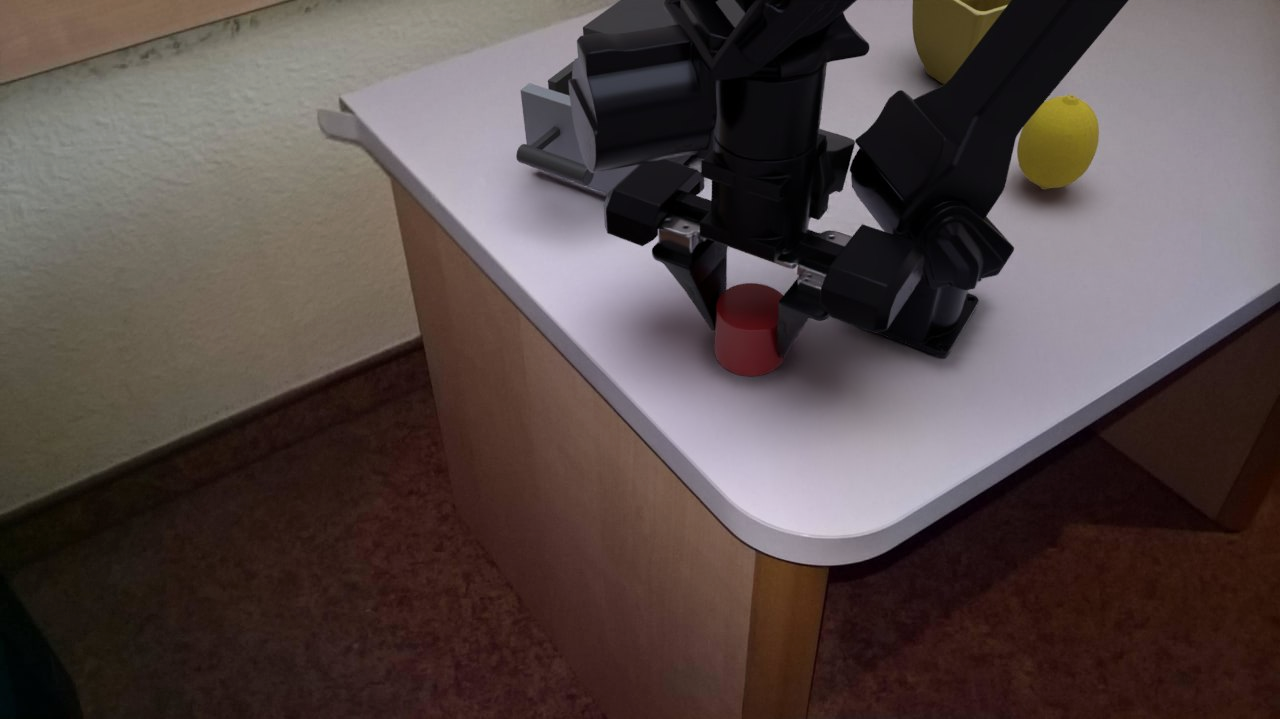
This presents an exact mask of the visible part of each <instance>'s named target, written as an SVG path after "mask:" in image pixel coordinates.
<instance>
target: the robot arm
mask: <svg viewBox="0 0 1280 719" xmlns="http://www.w3.org/2000/svg"><path fill="white" fill-rule="evenodd" d="M717 1H718V0H665V1H664V5H663V6H664V9H665V11H666V12H667V14H668V15H669V16H670V18H671V19H672V26H665V27H659V28H653V29H646V30H640V31H633V32H627V33H619V34H613V33H596V34H590V35H583V34H582V35H580V36H579V37H578V38H577V39H576V47H577V48H576V49H577V57H576V58H574V60H573V61H574V62H573V61H572V62H573V69H572V79H571V80H569V95H570V104H571V110H572V117H573V122H574V127H575V132H576V136H577V141H578V144H579V148H580V151H581V154H582V157H583V160H584V163H585V165H586V167H587V169H588V170H589V172H591V173H595V172H600V171H606V170H611V169H617V168H622V167H628V166H633V165H638V166H637V167H636V168H634V169H633V170H632V171H631V172H630V173H629V174H628V175H627V176H626V177H625V178H623V179H622V180H621V181H620V182H619V183H618V184H617V185H616V186H615V187H614V188H613V189H611V190H610V191H609V192H608V194H607V195H606V198H605V200H604V203H603V218H604V229H605V230H606V234H608V235H611V236H613V237H617V238H619V239H621V240H624V241H626V242H630V243H632V244H635V245H638V246H641V247H644V246H646V245H647V244H650V243H651V242H653V241H654V240H655V239H656V238H657V237H658V241H657V242H656V243H655V245H654V246H652V248H651V257H652V258H653V259H654V260H655V261H657V262H660V263H661V264H663V265H664V266H665V267H666V269H667V270H668V272H669V273H670V274H671V275H672V276H673V278H674V279H675V280H676V282H677V283H678V284H679V285H680V287H681V288H682V289H683V290H684V292H685V293H686V295H687V296H688V298H689V299H690V300H691V301H692V304H693V305H694V306H695V308H696V309H697V311H698V312H699V314H700V316H701V317H702V318H703V320H704V322H705V323H706V325H707V326H708V328H709V329H710V331H712V332H715V324H716V304H717V300H718V298H719V297H720V295H721V294H722V293H723V292H724V291H726V290H727V289H728V287H727V286H728V285H727V284H728V281H727V277H728V275H727V272H728V271H727V270H728V269H727V268H728V266H727V265H728V258H727V257H728V249H729V248H731V249H734V250H736V251H740V252H741V253H745V254H748V255H750V256H753V257H756V258H758V259H759V258H760V259H762V260H765V261H768V262H770V263H773V264H776V265H778V266H781V267H784V268H786V269H790V270H793V269H795V268H797V270H796V276H797V278H796V279H795V280H794V281H793V283H792V284H791V285H790V286H789V288H788V289H787V290H786V292H785V293H783V294H782V295H783V297H782V298H781V299H780V300H779V303H778V320H777V336H776V349H777V354H778V357H780V358H782V359H783V358H784V359H785V358H786V356H787V355H788V353H789V352H790V351H791V350H792V349H793V346H794V344H795V343H796V341H797V339H798V338H799V336H800V335H801V332H802V331H803V329H804V327H805V326H806V324H807V322H808V321H809V320H813V321H816V322H824V321H827V320H828V319H829V318H833V319H835V320H837V321H841V322H844V323H846V324H849V325H851V326H854V327H857V328H860V329H863V330H864V331H868V332H870V333H873V334H874V333H876V334H878V335H881V336H884V337H886V338H889V339H892V340H894V341H896V342H900V343H902V344H904V345H908V346H909V347H913V348H915V349H918V350H921V351H923V352H926V353H928V354H932V355H934V356H937V357H940V358H945V357H947V356H948V355H949V354H950V353H951V351H952V349H953V347H954V346H955V344H956V343H957V341H958V339H959V338H960V336H961V334H962V332H963V331H964V329H965V328H966V325H967V324H968V322H969V321H970V319H971V317H972V315H973V314H974V312H975V311H976V309H977V307H978V304H979V297H978V296H976V295H974V294H972V293H969V292H968V291H970V290H975V289H976V287H977V286H978V283H979V282H981V281H982V279H987V278H991V277H996V276H998V275H999V274H1000V273H1001V271H1002V270H1003V268H1004V266H1005V265H1006V263H1007V262H1008V260H1009V259H1010V258H1011V256H1012V255H1013V253H1014V251H1015V247H1014V246H1013V244H1012V243H1011V242H1010V241H1009V240H1008V238H1006V236H1005V235H1004V234H1003V232H1001V231H1000V229H998V228H997V227H996V225H995V224H994V222H992V221H991V220H990V218H988V217H987V216H988V215H989V214H990V212H991V210H992V209H993V208H994V206H995V204H996V203H997V201H998V200H999V198H1000V197H1001V196H1002V194H1003V192H1004V191H1005V187H1006V184H1007V183H1006V182H1007V179H1008V174H1009V169H1010V165H1011V161H1012V156H1013V153H1014V148H1015V144H1016V139H1017V137H1018V135H1019V133H1021V131H1022V128H1023V126H1024V125H1025V124H1026V123H1027V122H1028V120H1029V119H1030V118H1031V117H1032V116H1033V114H1034V113H1035V112H1036V111H1037V110H1038V108H1039V107H1040V106H1041V105H1042V104H1043V102H1045V101H1047V100H1048V99H1049V97H1050V95H1051V94H1052V93H1053V92H1054V91H1055V89H1056V88H1057V87H1058V86H1059V85H1060V84H1061V83H1062V81H1063V80H1064V79H1065V77H1067V75H1068V74H1069V72H1071V70H1072V69H1073V68H1074V67H1075V66H1076V64H1077V63H1078V62H1079V61H1080V59H1081V58H1082V57H1083V56H1084V54H1086V52H1087V51H1088V50H1089V49H1090V48H1091V46H1092V45H1093V44H1094V43H1095V41H1097V39H1098V38H1099V36H1100V35H1101V34H1103V32H1104V31H1105V29H1106V28H1107V27H1108V26H1109V25H1110V24H1111V22H1112V21H1113V20H1114V19H1115V17H1116V16H1117V15H1118V14H1119V13H1120V11H1122V9H1123V8H1124V7H1125V6H1126V4H1127V3H1128V2H1129V0H1011V1H1010V3H1009V4H1008V5H1007V7H1006V8H1005V9H1004V10H1003V12H1002V13H1001V14H1000V16H999V17H998V18H997V19H996V21H995V22H994V23H993V25H992V26H991V27H990V29H989V30H988V31H987V32H986V34H985V35H984V36H983V38H982V39H981V40H980V42H979V43H978V44H977V45H976V47H975V48H974V49H973V51H972V52H971V53H970V54H969V56H968V57H967V58H966V60H965V61H964V62H963V64H962V65H961V66H960V67H959V69H958V70H957V71H956V73H955V74H954V75H953V76H952V78H951V79H950V80H949V81H948V82H947V83H946V84H942V85H940V86H938V87H936V88H933V89H932V90H930V91H927V92H926V93H924V94H921V95H919V96H917V97H915V98H912V97H911V96H910V95H909V94H908V93H907V92H905V91H904V90H902V89H899V90H897V91H896V92H894V94H892V95H891V96H890V97H889V98H888V99H887V101H886V102H885V104H884V106H883V108H882V110H881V111H880V113H879V115H878V117H877V118H876V119H875V121H874V122H873V123H872V124H871V125H870V126H869V128H868V129H867V130H865V131H864V132H863V133H862V134H860V135H859V136H858V137H857V138H856V139H853V138H851V137H848V136H846V135H842V134H838V133H835V132H831V131H829V130H825V129H822V128H820V126H821V118H822V109H823V102H824V101H823V100H824V92H825V84H826V74H827V67H828V63H831V62H836V61H842V60H849V59H853V58H860V57H864V56H866V55H867V54H868V53H869V51H870V43H869V42H868V41H867V40H866V39H865V38H864V37H863V36H862V35H861V33H860V32H858V31H857V30H856V29H855V27H854V26H853V25H852V24H851V23H850V22H849V21H848V20H847V18H846V16H845V13H844V12H846V11H847V10H848V9H849V8H850V7H851V6H852V5H853V4H856V2H857V1H858V0H735V1H736V2H737V4H738V5H739V6H740V7H741V9H742V10H743V11H744V12H745V15H744V16H743V17H742V19H741V20H740V22H739V23H738V24H737V26H736V27H734V26H733V24H732V23H731V22H730V20H729V19H728V18H727V16H726V15H725V14H724V13H723V11H722V10H721V9H720V7H719V6H718V5H717V3H716V2H717ZM1047 98H1048V99H1047ZM713 129H714V133H713V150H712V151H711V152H710V153H709V154H708V155H707V156H706V157H705V158H702V160H701V161H700V170H699V169H697V168H694V167H690V166H687V165H684V164H679V163H676V162H673V161H670V160H667V159H672V158H677V157H683V156H688V155H692V156H695V155H694V154H696V153H697V152H698V151H702V150H707V149H708V147H709V144H710V140H711V134H712V131H713ZM855 145H857V147H858V150H857V151H856V153H855V155H854V157H853V152H854V149H855ZM852 157H853V159H852ZM848 171H849V172H850V179H851V180H850V181H851V188H852V189H853V191H854V193H855V195H856V196H857V198H858V199H859V200H860V202H861V203H862V204H863V206H864V207H865V208H866V210H867V211H868V213H869V214H870V215H871V216H872V218H873V219H874V220H875V221H876V223H877V224H878V225H879V227H880V228H881V230H880V229H878V228H875V227H871V226H869V225H866V224H864V223H862V224H861V225H860V226H859V227H858V228H857V230H856V231H855V233H853V235H852V236H851V235H849V234H846V233H843V232H840V231H837V230H831V229H830V230H825V231H823V232H817V231H814V230H811V229H809V226H810V225H809V224H810V220H811V219H812V220H813V219H814V220H816V221H820V219H821V218H822V217H823V216H824V215H825V214H826V212H827V211H828V209H829V200H830V195H832V194H834V193H836V192H837V193H840V192H842V191H843V190H844V187H845V183H846V179H847V175H848ZM705 179H708V180H710V181H711V199H707V198H704V197H702V196H699V194H700V193H702V191H703V190H704V189H705ZM784 359H783V360H784Z"/></svg>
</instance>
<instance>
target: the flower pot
mask: <svg viewBox="0 0 1280 719" xmlns="http://www.w3.org/2000/svg"><path fill="white" fill-rule="evenodd" d="M1010 1H1011V0H912V13H911V14H912V19H911V21H912V35H913V41H914V45H915V49H916V52H917V55H918V57H919V60H920V61H921V64H922V66H923V68H924V70H925V72H926V74H927V75H928V76H930V77H932V78H933V79H934V80H936V81H937V82H940V83H941V84H942V85H944V84H946V83H947V82H948V81H949V80H950V79H951V78H952V76H953V75H954V74H955V73H956V71H957V70H958V69H959V67H960V66H961V65H962V64H963V62H964V61H965V60H966V58H967V57H968V56H969V54H970V53H971V52H972V51H973V49H974V48H975V47H976V45H977V44H978V43H979V42H980V40H981V39H982V38H983V36H984V35H985V34H986V32H987V31H988V30H989V29H990V27H991V26H992V25H993V23H994V22H995V21H996V19H997V18H998V17H999V16H1000V14H1001V13H1002V12H1003V10H1004V9H1005V8H1006V7H1007V5H1008V4H1009V3H1010Z"/></svg>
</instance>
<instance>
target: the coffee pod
mask: <svg viewBox="0 0 1280 719" xmlns="http://www.w3.org/2000/svg"><path fill="white" fill-rule="evenodd" d="M783 295H784V294H783V293H782V292H780V291H779V290H777V289H776V288H774V287H771V286H769V285H767V284H762V283H754V282H747V283H740V284H736V285H733V286H731V287H728V288H727V290H726V291H724V292H723V293H722V294H721V295H720V297H719V298H718V300H717V304H716V324H715V331H714V348H713V349H714V350H713V351H714V355H715V358H716V360H717V362H718V363H719V365H721V366H722V367H723V368H725V370H727V371H729V372H731V373H733V374H736V375H739V376H745V377H757V376H763V375H766V374H770V373H771V372H773V371H775V370H776V369H777V368H779V367H780V365H781V364H782V362H783V361H784V359H785V358H783V359H782V358H780V357H778V354H777V349H776V336H777V320H778V303H779V300H780V299H781V298H782V297H783Z"/></svg>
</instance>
